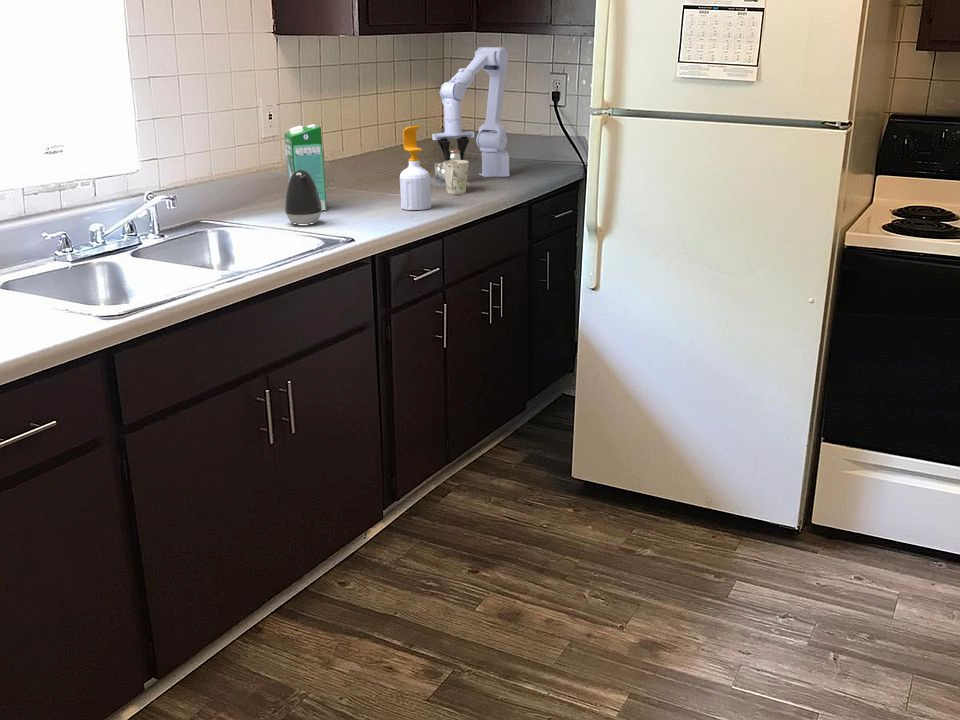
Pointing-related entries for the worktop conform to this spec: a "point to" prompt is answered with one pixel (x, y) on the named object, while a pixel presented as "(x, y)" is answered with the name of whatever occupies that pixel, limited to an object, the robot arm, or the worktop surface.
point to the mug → (456, 176)
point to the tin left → (437, 170)
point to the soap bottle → (414, 176)
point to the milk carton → (307, 156)
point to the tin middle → (441, 174)
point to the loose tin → (455, 154)
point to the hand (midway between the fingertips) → (453, 160)
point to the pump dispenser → (302, 199)
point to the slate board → (438, 182)
